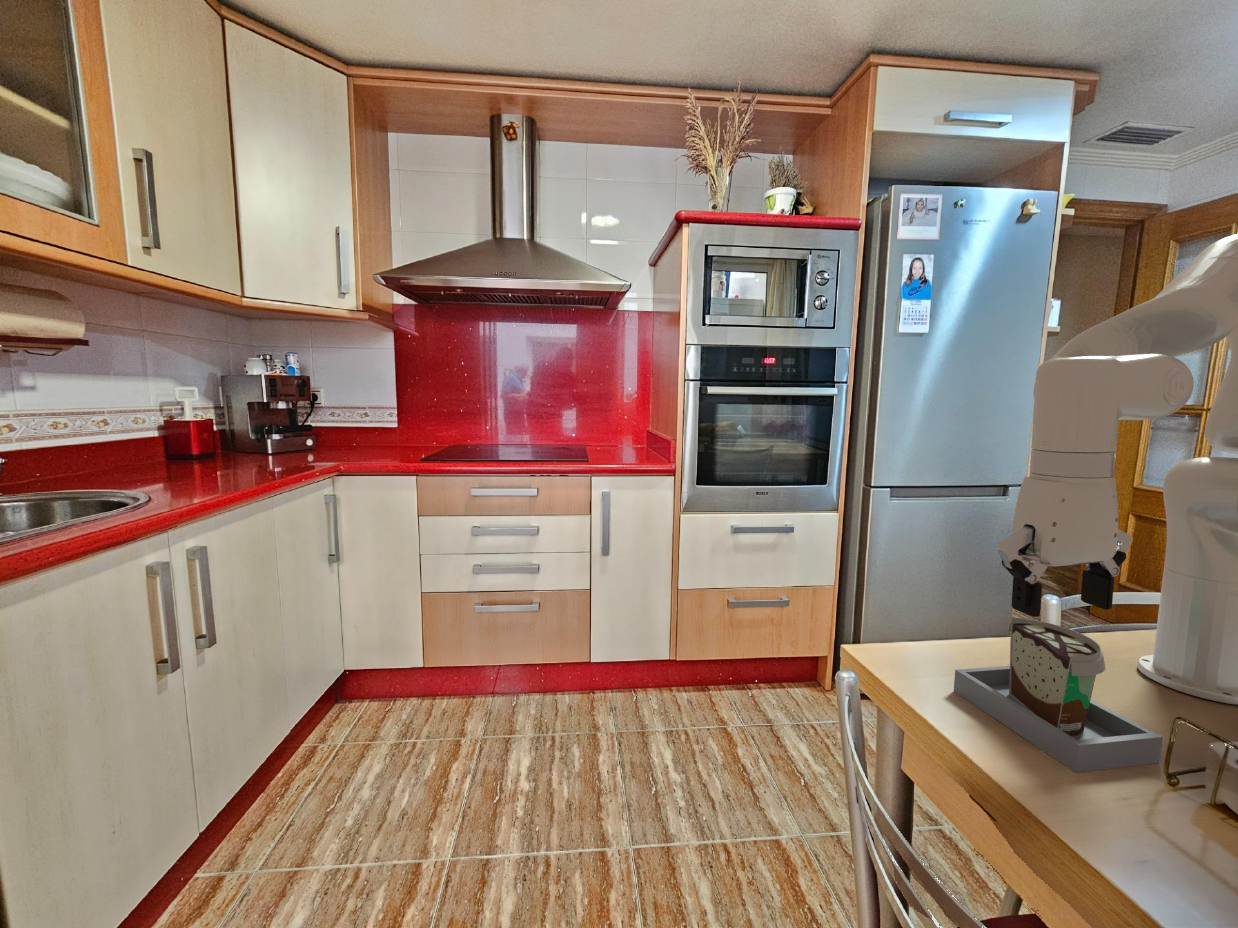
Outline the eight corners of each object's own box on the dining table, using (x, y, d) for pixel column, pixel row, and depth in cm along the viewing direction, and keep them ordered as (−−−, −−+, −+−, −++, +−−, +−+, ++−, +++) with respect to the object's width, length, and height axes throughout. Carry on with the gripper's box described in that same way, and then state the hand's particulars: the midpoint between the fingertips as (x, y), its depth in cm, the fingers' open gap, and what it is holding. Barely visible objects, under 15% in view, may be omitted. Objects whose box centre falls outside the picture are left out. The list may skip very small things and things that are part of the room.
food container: (1127, 749, 59) (1137, 661, 58) (1065, 744, 60) (1074, 657, 59) (1053, 691, 71) (1060, 618, 70) (1002, 688, 72) (1009, 615, 71)
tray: (1022, 685, 75) (1023, 664, 74) (1159, 762, 58) (1162, 736, 58) (953, 690, 73) (955, 669, 73) (1075, 772, 57) (1078, 745, 56)
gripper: (1101, 459, 68) (1090, 592, 70) (978, 465, 65) (971, 603, 67) (1170, 466, 60) (1157, 614, 62) (1035, 473, 58) (1026, 628, 59)
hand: (1060, 608), depth 65 cm, fingers open, 9 cm apart
